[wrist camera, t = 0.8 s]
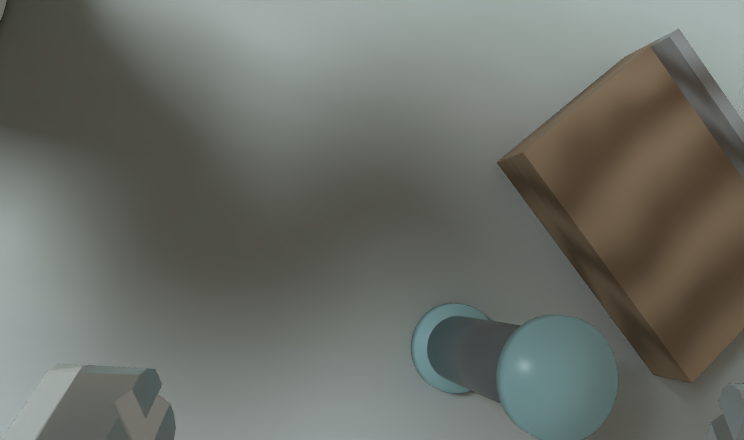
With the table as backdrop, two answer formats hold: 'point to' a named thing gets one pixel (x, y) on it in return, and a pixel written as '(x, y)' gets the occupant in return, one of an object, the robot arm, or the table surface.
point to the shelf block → (648, 202)
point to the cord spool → (521, 367)
